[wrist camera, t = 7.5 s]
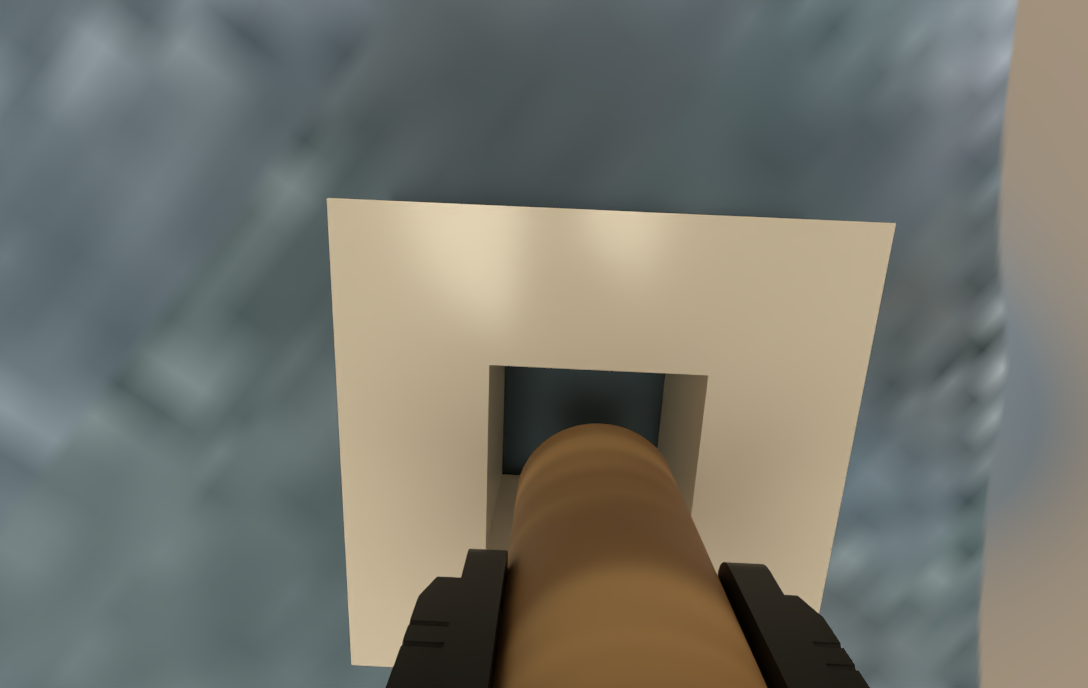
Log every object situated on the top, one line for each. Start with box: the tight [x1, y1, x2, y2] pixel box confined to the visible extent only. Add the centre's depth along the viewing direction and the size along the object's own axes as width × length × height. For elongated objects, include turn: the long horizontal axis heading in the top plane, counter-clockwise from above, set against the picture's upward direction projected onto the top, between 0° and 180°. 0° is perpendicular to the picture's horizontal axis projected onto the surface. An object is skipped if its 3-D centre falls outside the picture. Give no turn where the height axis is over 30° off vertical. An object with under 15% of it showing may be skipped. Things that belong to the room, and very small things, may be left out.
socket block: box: [327, 198, 896, 667], centre depth 17 cm, size 14×14×5 cm
